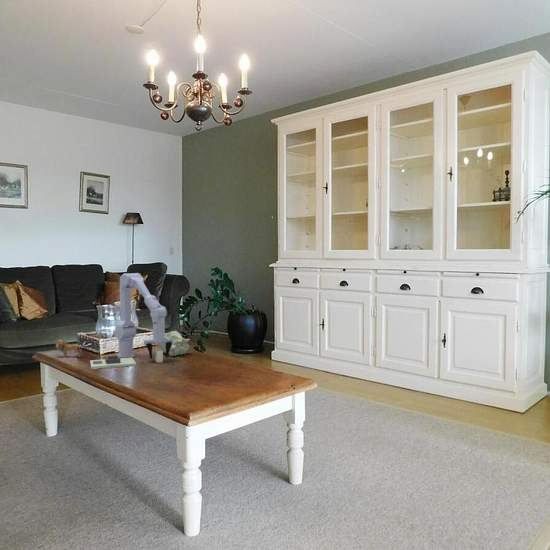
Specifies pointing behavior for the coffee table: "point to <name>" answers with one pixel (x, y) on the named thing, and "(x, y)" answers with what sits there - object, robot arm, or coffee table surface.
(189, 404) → the coffee table surface
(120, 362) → the board
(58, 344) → the lion figurine
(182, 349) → the folded clay sculpture
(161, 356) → the plug
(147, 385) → the coffee table surface
